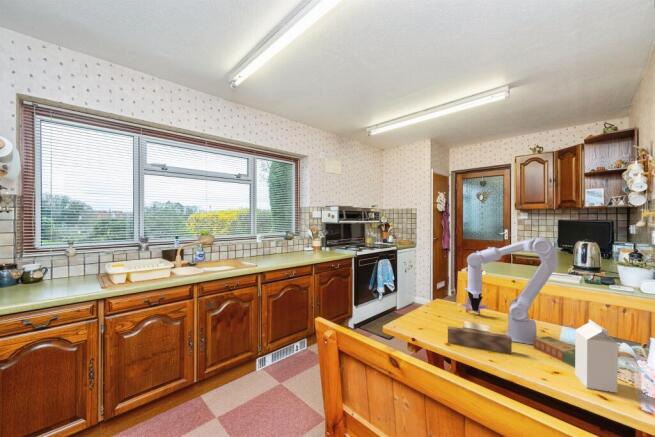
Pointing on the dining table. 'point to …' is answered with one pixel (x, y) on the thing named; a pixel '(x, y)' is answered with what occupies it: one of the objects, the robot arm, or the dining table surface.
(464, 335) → the walnut board
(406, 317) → the dining table surface
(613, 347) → the milk carton
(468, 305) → the lily
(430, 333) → the dining table surface
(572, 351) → the carton
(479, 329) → the maple block
